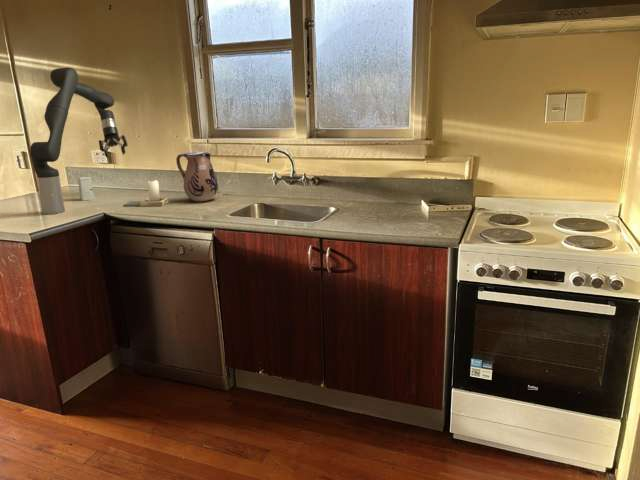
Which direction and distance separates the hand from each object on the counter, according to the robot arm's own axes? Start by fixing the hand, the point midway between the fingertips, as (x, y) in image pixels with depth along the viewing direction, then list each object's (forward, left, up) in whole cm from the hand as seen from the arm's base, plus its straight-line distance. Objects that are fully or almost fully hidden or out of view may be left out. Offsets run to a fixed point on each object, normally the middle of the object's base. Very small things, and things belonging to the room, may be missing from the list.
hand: (115, 155), depth 260 cm
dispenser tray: (-23, -28, -23) cm, 43 cm away
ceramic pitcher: (-13, -48, -23) cm, 54 cm away
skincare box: (-7, +15, -23) cm, 29 cm away
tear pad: (-23, -18, -23) cm, 37 cm away
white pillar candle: (-23, -28, -23) cm, 43 cm away
